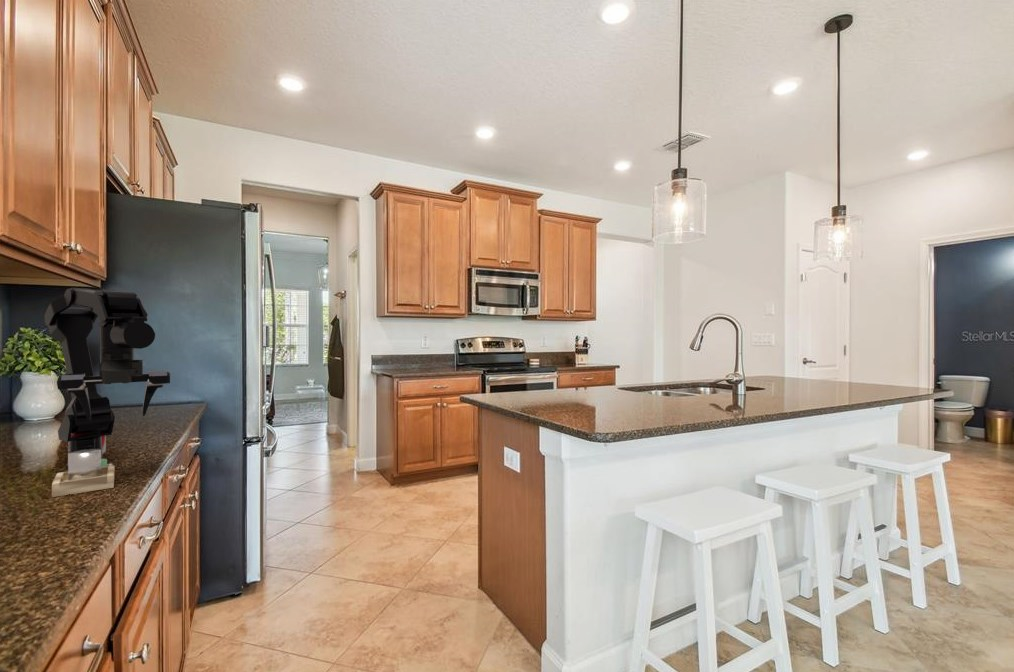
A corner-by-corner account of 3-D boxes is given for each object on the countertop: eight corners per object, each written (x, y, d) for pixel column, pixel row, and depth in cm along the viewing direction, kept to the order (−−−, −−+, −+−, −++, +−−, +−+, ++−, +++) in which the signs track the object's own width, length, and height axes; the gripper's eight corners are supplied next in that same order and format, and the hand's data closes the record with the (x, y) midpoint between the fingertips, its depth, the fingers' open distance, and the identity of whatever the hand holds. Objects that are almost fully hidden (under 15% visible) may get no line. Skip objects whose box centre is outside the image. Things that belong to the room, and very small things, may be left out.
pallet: (57, 484, 96) (57, 472, 96) (114, 476, 102) (114, 465, 102) (51, 497, 89) (51, 484, 89) (113, 487, 95) (113, 475, 95)
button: (92, 473, 102) (92, 459, 102) (107, 471, 104) (107, 458, 104) (92, 476, 101) (92, 462, 101) (106, 474, 102) (106, 460, 102)
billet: (69, 480, 96) (69, 451, 96) (101, 475, 99) (101, 447, 99) (67, 486, 92) (66, 456, 92) (100, 481, 95) (100, 452, 95)
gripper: (54, 349, 91) (54, 429, 91) (171, 348, 103) (171, 418, 103) (60, 347, 100) (60, 420, 100) (168, 346, 111) (168, 411, 112)
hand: (117, 417), depth 103 cm, fingers open, 9 cm apart
